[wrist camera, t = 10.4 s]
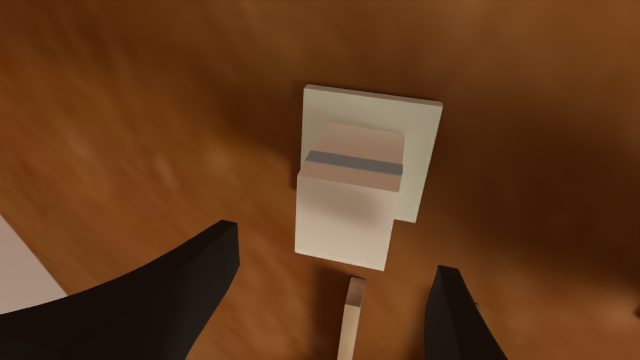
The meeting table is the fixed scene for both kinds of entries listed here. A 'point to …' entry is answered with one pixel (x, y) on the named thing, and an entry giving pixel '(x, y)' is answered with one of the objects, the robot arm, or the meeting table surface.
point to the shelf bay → (353, 318)
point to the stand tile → (384, 115)
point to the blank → (349, 195)
